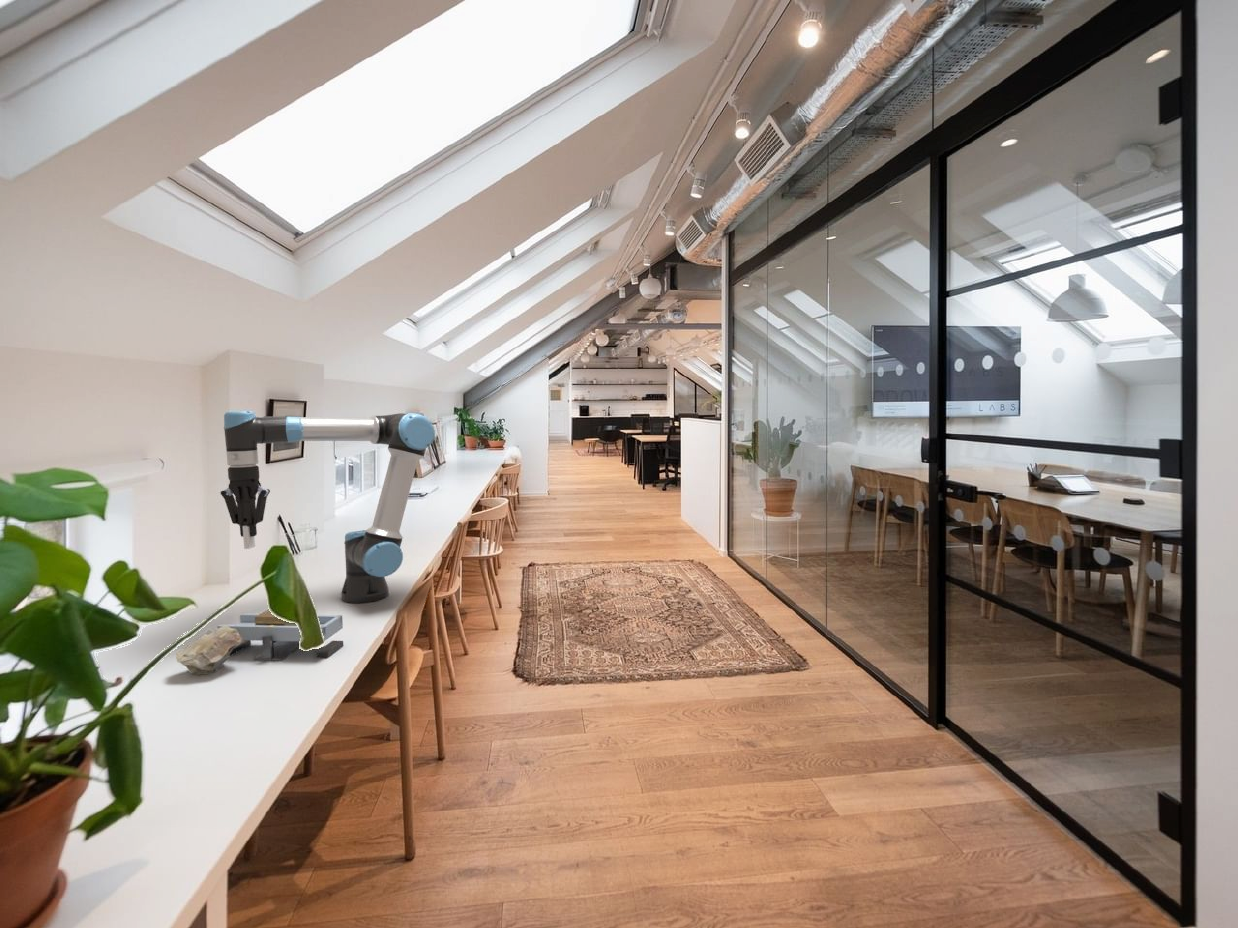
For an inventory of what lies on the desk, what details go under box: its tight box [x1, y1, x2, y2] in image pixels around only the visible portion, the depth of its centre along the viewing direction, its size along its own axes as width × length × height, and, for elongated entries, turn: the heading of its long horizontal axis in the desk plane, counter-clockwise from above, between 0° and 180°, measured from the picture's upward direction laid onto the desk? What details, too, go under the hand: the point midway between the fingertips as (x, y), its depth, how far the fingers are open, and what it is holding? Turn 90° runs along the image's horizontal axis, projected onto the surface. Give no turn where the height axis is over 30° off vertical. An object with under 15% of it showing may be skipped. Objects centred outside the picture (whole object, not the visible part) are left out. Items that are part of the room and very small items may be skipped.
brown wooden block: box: [255, 609, 296, 626], centre depth 164 cm, size 6×8×4 cm
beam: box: [217, 613, 344, 642], centre depth 164 cm, size 12×28×4 cm, turn 87°
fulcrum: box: [229, 636, 344, 662], centre depth 164 cm, size 14×29×6 cm, turn 87°
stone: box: [175, 626, 243, 675], centre depth 151 cm, size 11×14×10 cm
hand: (249, 547), depth 177 cm, fingers closed
